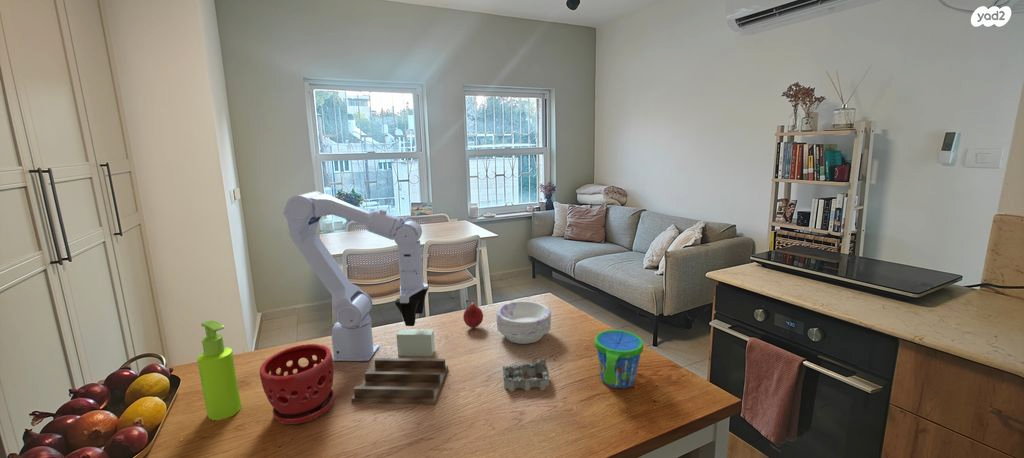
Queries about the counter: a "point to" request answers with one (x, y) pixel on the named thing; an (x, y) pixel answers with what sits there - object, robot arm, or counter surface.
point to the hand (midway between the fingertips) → (414, 319)
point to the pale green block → (415, 342)
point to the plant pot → (299, 383)
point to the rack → (402, 381)
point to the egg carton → (530, 370)
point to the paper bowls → (523, 321)
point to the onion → (473, 316)
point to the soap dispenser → (218, 374)
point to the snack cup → (618, 357)
